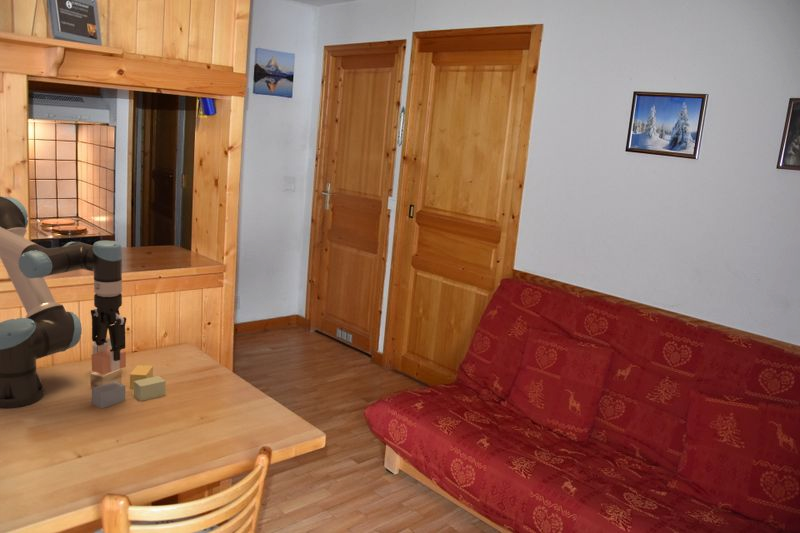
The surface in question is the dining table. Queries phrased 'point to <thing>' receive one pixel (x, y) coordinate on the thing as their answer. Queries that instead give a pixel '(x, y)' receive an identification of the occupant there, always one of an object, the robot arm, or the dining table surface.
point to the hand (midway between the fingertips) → (108, 367)
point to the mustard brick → (140, 374)
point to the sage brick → (149, 388)
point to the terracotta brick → (106, 361)
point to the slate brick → (108, 394)
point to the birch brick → (105, 378)
